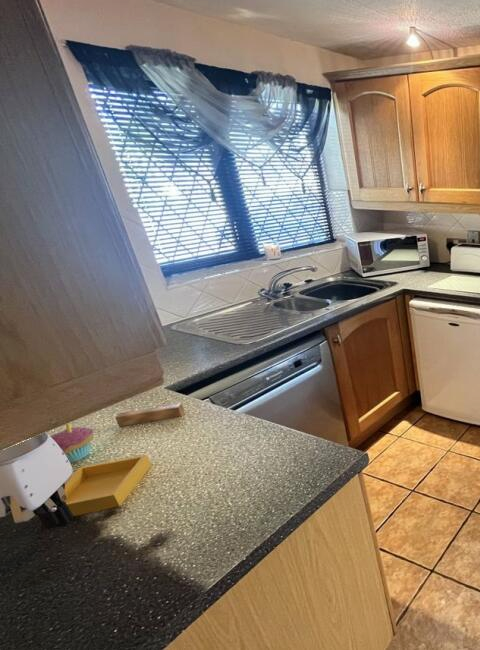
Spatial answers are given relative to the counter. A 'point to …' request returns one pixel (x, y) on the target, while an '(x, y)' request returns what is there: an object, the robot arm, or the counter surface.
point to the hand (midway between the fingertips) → (60, 523)
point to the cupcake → (74, 442)
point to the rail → (149, 414)
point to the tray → (104, 484)
